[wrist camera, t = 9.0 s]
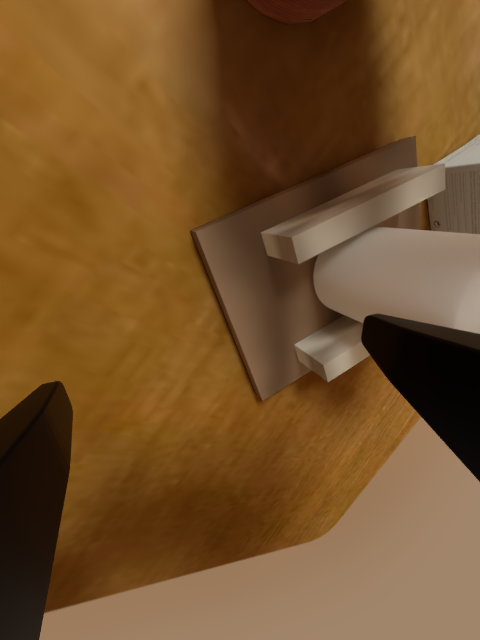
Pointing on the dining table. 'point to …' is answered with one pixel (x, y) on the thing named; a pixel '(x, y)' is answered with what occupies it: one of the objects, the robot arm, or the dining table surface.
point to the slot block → (306, 261)
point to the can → (404, 276)
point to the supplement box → (458, 192)
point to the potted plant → (294, 9)
